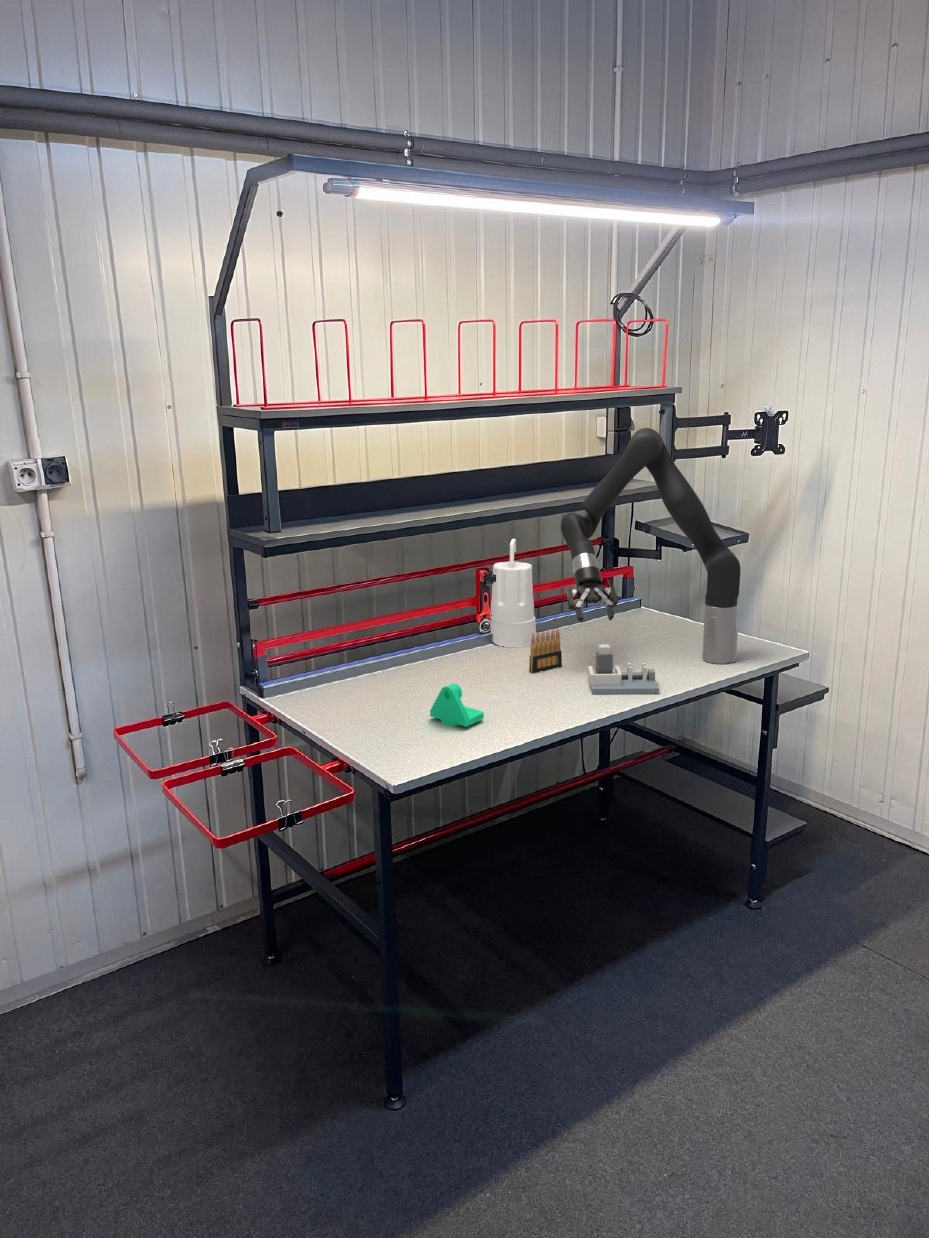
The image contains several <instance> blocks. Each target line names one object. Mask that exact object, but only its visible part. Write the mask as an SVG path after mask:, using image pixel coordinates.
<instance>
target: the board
mask: <svg viewBox="0 0 929 1238" xmlns="http://www.w3.org/2000/svg"><path fill="white" fill-rule="evenodd" d="M626 665H627V667H626V672H625V671H624V672H623V671H621V669H620V665H615V666H614V667H615V668H614V670H615V671H614V672H613V674H596V671H595V672H594V668H593V666H592V665H588V673H587V675H588V682H589V687H590V691H591V695H644V694H643V693H646V694H645V695H655V694H654V693H659V694H660V687H659V685H658V683H657V680H656V672H655V669H654V668H648V667H647V664H646V662H642V663H641V671H633V666H632V663H630V662H629V663H627V664H626ZM636 693H637V694H636ZM647 693H648V694H647Z"/></svg>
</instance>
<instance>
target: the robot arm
mask: <svg viewBox="0 0 929 1238" xmlns="http://www.w3.org/2000/svg"><path fill="white" fill-rule="evenodd" d="M628 441H629V442H628V445H627V447H626V448H625V449H624V452H623V454H622V455H621V457H620V458H619V460H617V462H616V464H615V465H614V466H613V468H612V469H611V470H610V471H609V472H608V473H607V474H606V475H605V476H604V477H603V478H602V479H601V480H600V481H599V483H598V484H597V485H596V486H595V487H594V488H593V489H592V491H591V492H590V493H589V494H588V495H587V496H586V498H585V499H584V500H583V502H582V507H583V509H584V511H585V512H586V515H585V516H583V515H582V514H578V513H576V512H573V511H572V512H567V513H565V514H564V515H563V517H562V519H561V522H560V532H561V534H562V537H563V539H564V541H565V543H566V545H567V547H568V549H569V551H570V557H571V561H572V570H573V571H572V572H573V576H574V580H575V586H576V589H573V588H572V587H569V588H568V589H567V591H566V598H567V607H568V610H569V611H571V610H572V611H575V614H576V620H577V621H579V623H583V621H584V613H583V609H582V607H583V605H584V603H586V604H588V605H589V604H598V603H599V604H600V605H601V606H603V607H605V608H606V613H607V616H608V621H613V619H614V617H615V611H614V608H616V607H617V606H618V603H619V599H618V595H617V592H616V588H615V586H614V585H610V586H609V587H604V585H603V580H602V576H601V575H602V574H601V571H600V566H599V562H598V559H597V556H596V552H595V546H594V544H593V542H592V541H591V540H590V538H591V537H592V536H593V535H594V534H595V532H596V530H597V528H598V526H599V524H600V521H601V520H602V517H603V516H604V514H605V513H606V512H607V510H609V508H611V506H612V504H614V503H615V501H616V499H618V497H619V496H620V494H621V493H622V492H623V491H624V490H625V488H626V486H627V485H628V484H629V483H630V482H631V481H632V480H633V479H634V478H635V476H637V475H638V473H640V472H641V471H642V470H643V469H645V468H646V469H647V471H649V473H650V475H651V477H652V478H653V480H654V481H655V485H656V488H657V490H658V492H659V495H660V497H661V501H662V502H663V505H664V506H665V508H666V510H667V511H668V513H669V516H670V517H672V519H673V521H674V522H675V524H676V525H677V526H678V528H679V529H680V530H681V531H682V533H683V534H684V535H685V536H686V537H687V538H688V539H689V541H690V542H691V543H692V545H694V547H695V549H696V550H697V553H698V555H699V556H700V558H701V561H702V563H703V565H704V567H705V570H706V572H707V579H706V592H705V595H704V613H703V615H704V616H703V636H702V641H703V642H702V660H703V661H705V662H706V663H710V664H717V665H719V664H721V665H722V664H723V665H724V664H731V663H736V662H737V650H738V649H737V648H738V630H737V613H738V612H737V610H738V599H739V596H740V584H741V583H740V582H741V564H740V560H739V559H738V558H737V556H736V555H735V554H734V552H732V551H731V550H730V549H729V547H728V546H727V545H726V543H725V542H724V541H723V539H722V538H721V537H720V536H719V535H718V533H717V531H716V530H715V528H714V526H713V524H712V521H711V518H710V516H709V514H708V512H707V510H706V508H705V505H704V504H703V503H702V501H701V499H700V497H699V496H698V495H697V493H696V492H695V490H694V489H693V487H692V485H691V484H690V483H689V482H688V480H687V479H686V477H685V476H684V474H683V473H682V472H681V470H680V469H679V467H678V466H677V465H676V464H675V462H674V460H673V458H672V456H671V454H670V452H669V450H668V448H667V446H666V444H665V443H664V442H665V441H663V438H662V436H661V435H660V433H659V432H658V431H656V430H655V429H654V428H650V427H643V428H640V429H638V430H637V431H636V432H635V433H634V434H633V435H632V436H631V438H630V439H629V440H628ZM605 593H606V594H607V595H608V596H609V598H608V596H607V595H606V594H605ZM575 595H576V596H577V597H578V598H579V599H578V601H577V603H575V600H574V597H575Z"/></svg>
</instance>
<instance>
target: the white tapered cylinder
mask: <svg viewBox="0 0 929 1238" xmlns="http://www.w3.org/2000/svg"><path fill="white" fill-rule="evenodd" d="M516 552H517V540H516V538H512V539H511V541H510V543H509V560H508V561H500V562H495V563H494V564H493V566H492V575H493V574H494V575H496V582H494V583H493V584H492V583H491V585H492V586H491V589H492V590H491V601H490V602H491V603H490V634H491V633H493V642H494V643H495V644H497V645H499V646H498V647H502V646H504V648H513V647H514V648H522V647H523V648H524V647H528V646H531V645H530V644H531V638H532V634H533V633H534V635H535V643H536V636H537V629H536V628H537V625H536V616H535V603H534V594H533V593H534V592H533V590H534V589H533V564H530V563H529V562H521V561H515V553H516ZM491 615H492V616H491ZM495 644H494V645H495ZM497 645H496V646H497Z"/></svg>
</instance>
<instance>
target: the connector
mask: <svg viewBox="0 0 929 1238" xmlns="http://www.w3.org/2000/svg"><path fill="white" fill-rule="evenodd" d="M613 659H614V654H613V652H612V651H611V646H610V644H608V643H607V644H598V650H595V672H596V674H613V669H614V668H613V667H614V664H613Z"/></svg>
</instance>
